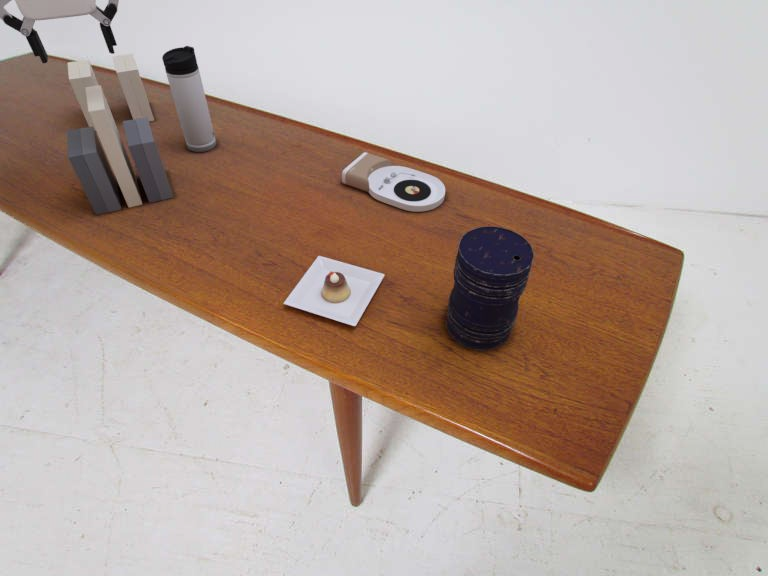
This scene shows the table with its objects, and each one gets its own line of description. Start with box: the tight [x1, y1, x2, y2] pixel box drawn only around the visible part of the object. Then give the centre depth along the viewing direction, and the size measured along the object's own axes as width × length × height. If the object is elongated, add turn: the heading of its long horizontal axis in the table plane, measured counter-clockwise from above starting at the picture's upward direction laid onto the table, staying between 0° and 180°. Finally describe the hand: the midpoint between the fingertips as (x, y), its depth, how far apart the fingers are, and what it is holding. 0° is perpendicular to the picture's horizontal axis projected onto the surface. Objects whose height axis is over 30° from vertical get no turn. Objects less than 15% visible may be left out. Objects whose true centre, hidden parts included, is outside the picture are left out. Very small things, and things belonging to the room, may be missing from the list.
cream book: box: [85, 84, 143, 208], centre depth 90 cm, size 2×10×19 cm, turn 26°
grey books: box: [66, 117, 174, 216], centre depth 93 cm, size 14×10×12 cm
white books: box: [67, 53, 155, 132], centre depth 115 cm, size 14×10×12 cm
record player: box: [341, 151, 446, 213], centre depth 99 cm, size 12×3×20 cm
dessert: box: [283, 255, 386, 327], centre depth 77 cm, size 12×12×5 cm
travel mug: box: [161, 45, 217, 153], centre depth 103 cm, size 6×7×20 cm
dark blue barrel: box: [445, 225, 535, 351], centre depth 70 cm, size 10×10×15 cm
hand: (79, 55), depth 79 cm, fingers open, 9 cm apart
